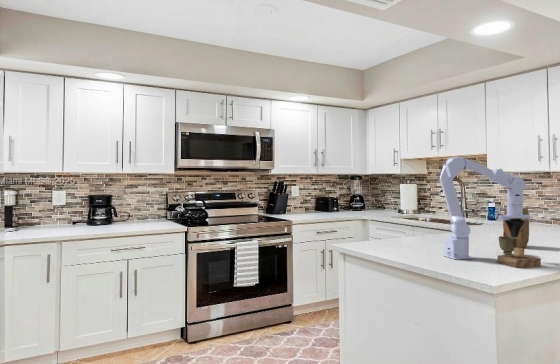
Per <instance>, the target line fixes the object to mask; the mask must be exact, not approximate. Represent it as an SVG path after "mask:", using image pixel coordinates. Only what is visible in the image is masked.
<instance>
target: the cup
mask: <svg viewBox="0 0 560 364" xmlns="http://www.w3.org/2000/svg"><path fill="white" fill-rule="evenodd" d="M517 239H518V238H516V237H515V238H514V237H512V239H511V237H510V236H509V237H508V236H507V237H506V238H505V236H504V237H503V235H500V236H498V242H499V243H498V244H499V248H500V249H501V250H502V251H503V252H502V253H503V255H513V252H514V248H517V247H516V245H517Z"/></svg>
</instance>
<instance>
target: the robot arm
mask: <svg viewBox="0 0 560 364" xmlns="http://www.w3.org/2000/svg"><path fill="white" fill-rule="evenodd" d="M463 170H470V171H473V172H475V173H477V174H481V175H483V176H486V177H488V180H489V181H490V182H493V183H495V184H497V185H501V186H502V187H505V188H506V189H507V190H506V191H507V194H506V209H507V215H504V214H502V215H501V214H500V215H498V221H503V220H505V222H506V224H507V226H508V228H509V230H510V234H511V237H518V234H519V231H520V228H521V227H522V225H523V224H524V221H523V220H525V219H527V220H529V221H531V215H530V214H529V215H523V208H524V206H523V205H524V189H525V188H526V185H527V184H526V183H525V180H524V179H523V178H522V177H520V176H515V174H513V173H509V172H506V171H504V170H503V169H502V168H493V169H491V168H489V167H487V166H485V165H482V164H481V163H480V164H479V163H477V162H475V161H473V160H471V159H467V158H463V157H461V156H453V157H449V158H447V160H446V161H445V162H444V163H443V166H442V169H441V173H440V175H439V181H440V185H441V189H442V193H443V195H444V196H443V197H444V199H445V203H446V207H447V210H448V214H449V221H450V226H449V230H450V231H451V232H452V233H451V234H450V237H447V238H445V239H444V247H443V249H444V250H443V251H444V254H443V255H442V256H443V257H446V258H449V259H452V260H469V259H474V257H473V256H470V255H469V252H470V251H469V250H470V246H469V245H470V244H469V243H470V237H469V235H470V234H471V228H470V226H469V225H468V224H467V222H466V219H465V217H464V216H463V213H462V209H461V206H460V201H459V198H458V195H457V192H456V188H455V184H454V181H453V180H454V178H455V177H456V176H457V174H459V173H460V172H461V171H463ZM509 218H510V219H509ZM513 218H514V219H513Z"/></svg>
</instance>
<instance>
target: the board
mask: <svg viewBox="0 0 560 364" xmlns="http://www.w3.org/2000/svg"><path fill="white" fill-rule="evenodd" d="M497 263H498V264H501V265H504V266H507V267H511V268H515V269H519V268H520V269H521V268H534V267H541V266H542V258H540V257H536V256H530V255H527V254H524V258H522V259H518V258H514V254H512V255H505V254H501V255H497Z"/></svg>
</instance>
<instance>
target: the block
mask: <svg viewBox="0 0 560 364" xmlns="http://www.w3.org/2000/svg"><path fill="white" fill-rule="evenodd" d="M503 215H507V208H506V209H505V210H504V212H503ZM523 215H530V212H529V209H528V208H526V207H523ZM509 219H510V218H509ZM513 219H514V218H513ZM523 221H524V224H523V225H522V227H521V228H520V231H519V234H518V237H516V238H518V239H517V245H516V248H524V249H525V248H526V247H527V246H528V243H529V238H530V220H527V219H525V220H523ZM502 227H503V228H502V229H503V233H502V237H504V236H505V238H506V237H507V236H508V237H509V236H510V237H511V234H510V230H509V228H508V226H507V224H506V222H505V220H502ZM514 238H515V237H514ZM511 239H512V237H511Z"/></svg>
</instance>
